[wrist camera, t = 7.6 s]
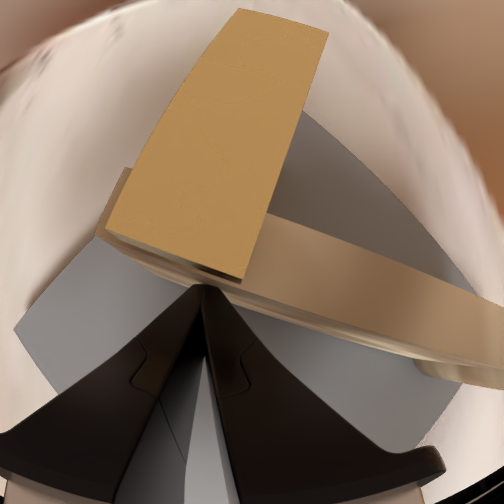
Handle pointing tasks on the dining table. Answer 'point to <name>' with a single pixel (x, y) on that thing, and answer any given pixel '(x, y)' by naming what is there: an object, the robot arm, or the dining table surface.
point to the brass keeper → (221, 147)
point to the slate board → (265, 327)
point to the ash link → (351, 298)
